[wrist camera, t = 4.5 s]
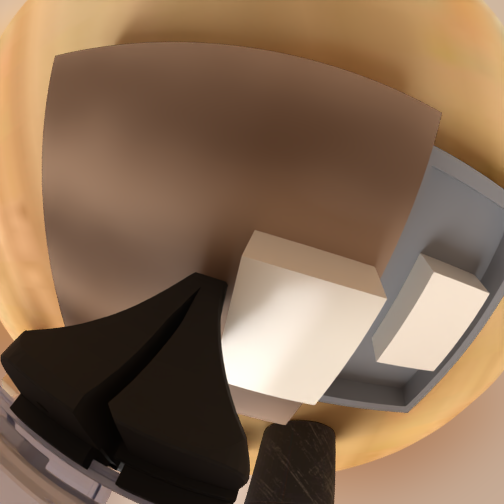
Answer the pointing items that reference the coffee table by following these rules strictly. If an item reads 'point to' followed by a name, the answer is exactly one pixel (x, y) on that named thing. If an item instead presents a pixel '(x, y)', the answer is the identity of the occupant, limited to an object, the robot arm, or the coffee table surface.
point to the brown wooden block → (217, 171)
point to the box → (441, 248)
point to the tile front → (296, 317)
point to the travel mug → (294, 465)
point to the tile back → (428, 315)
